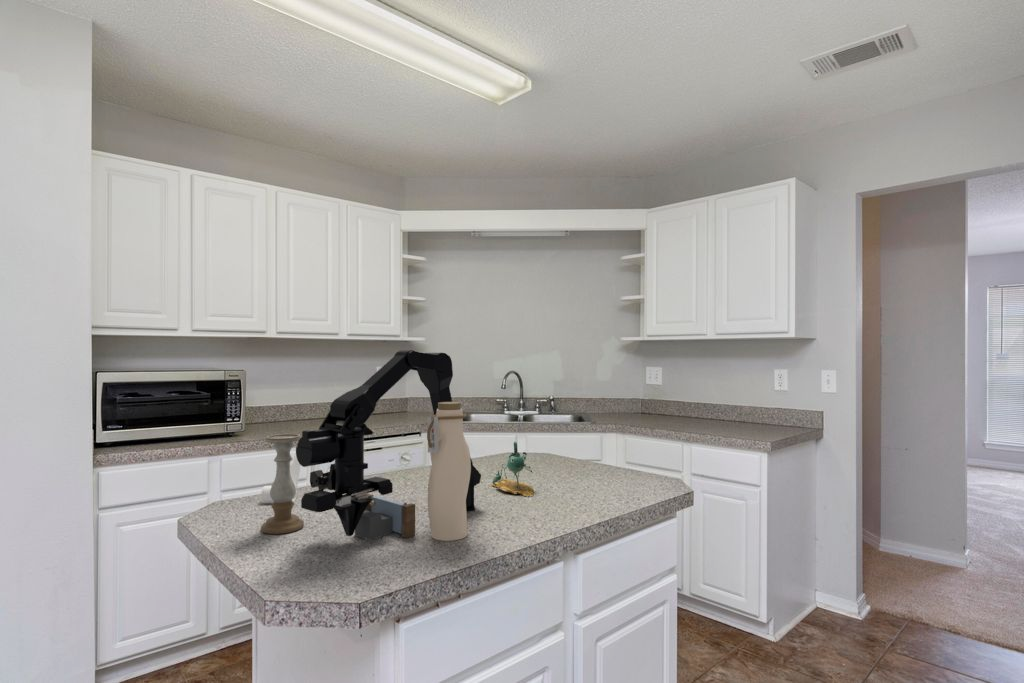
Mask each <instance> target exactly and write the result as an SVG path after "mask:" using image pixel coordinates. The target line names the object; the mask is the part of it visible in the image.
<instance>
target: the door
mask: <svg viewBox="0 0 1024 683" xmlns="http://www.w3.org/2000/svg"><path fill="white" fill-rule="evenodd" d="M371 499H372V502H371V503H370V505H371V512H374V513H380V514H384V515H387V516H391V517H393V531H392V532H395V533H398V534H400V535H402V506H403V505H404V503H405V502H404V503H403V502H400V501H399V502H398V501H396V500H392V499H388V498H385V497H381V496H378V495H374V496H373V497H371Z"/></svg>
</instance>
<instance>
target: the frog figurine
mask: <svg viewBox="0 0 1024 683" xmlns="http://www.w3.org/2000/svg"><path fill="white" fill-rule="evenodd" d="M527 456H528V455H527V452H525V451H523V452H522V455H521V453H520V452H518V443H517V441H514V442H513V452H511V454H510V455H509V456H508V459H507V461H506V462H507V464H504V463H503V464H502V465H501V470H498V471H497V474H495V476H494V477H493V480H492V483H491V484H492V485H493V486H494V488H497V487H498V489H499V490H501V491H503V492H507V493H511V494H514V495H517V494H519V495H522V496H523V497H525V496H527V497H526V498H529V497H528V496H530V497H531V496H532V497H534V492H535V490H534V488H533V485H529V484H527V483H526V484H525V483H524V482H522V481H520V480H519V477H520V472H522V471H523V469H524V468H525V469H526V470H528V472H530V473H531V474H533V470H532V469H531V466H530V465H529V466H527V463H525V461H526V460H527ZM504 466H505V467H504ZM503 467H504V468H503ZM507 468H508V471H509V472H512V474H514V475H513V477H515V478H516V481H515V480H512V479H508V476H507V474H506V469H507ZM530 469H531V470H530ZM503 471H504V476H505V478H502V477H503ZM517 474H518V475H517ZM493 486H492V487H493Z"/></svg>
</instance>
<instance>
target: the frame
mask: <svg viewBox="0 0 1024 683" xmlns="http://www.w3.org/2000/svg"><path fill="white" fill-rule="evenodd" d="M373 496H375V495H374V494H371V493H367V498H368V499H371V497H373ZM366 510H367V511H371V505H370V503H369V504H368V505H367V507H366V509H365V511H366ZM414 536H416V504H415V503H411V502H410V503H407V502H404V505H403V506H402V534H401V537H402V538H404V537H405V539H408V537H409V538H411V537H414Z"/></svg>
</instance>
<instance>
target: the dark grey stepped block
mask: <svg viewBox="0 0 1024 683" xmlns="http://www.w3.org/2000/svg"><path fill="white" fill-rule="evenodd" d="M391 532H392V533H393V532H394V531H393V517H391V516H387V515H384V514H380V513H374V512H371V511H367V510H366V511H364V513H363V514H362V516H361V518H360V520H359V522H358V525H357V527H356V529H355V531H354V535H355V536H356V535H358V536H357V537H360V538H363V539H366V538H367V539H366V540H369V539H371V540H373V538H374V539H376V537H377V538H380V537H383V536H386V535H389V534H391ZM388 533H389V534H388ZM385 534H386V535H385ZM382 535H383V536H382ZM379 536H380V537H379Z"/></svg>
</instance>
